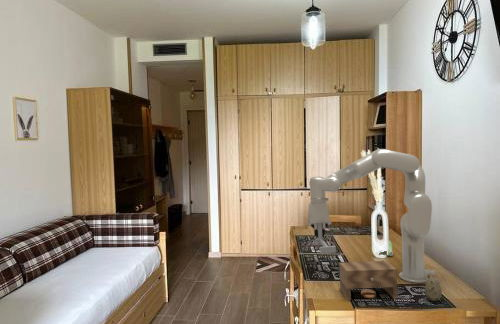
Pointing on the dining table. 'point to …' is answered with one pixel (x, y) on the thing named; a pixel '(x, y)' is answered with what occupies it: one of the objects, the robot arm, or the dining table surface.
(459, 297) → the dining table surface
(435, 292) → the decorative egg
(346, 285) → the wooden bridge block
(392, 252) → the frog
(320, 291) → the dining table surface
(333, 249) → the grey parking meter
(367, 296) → the copper token
